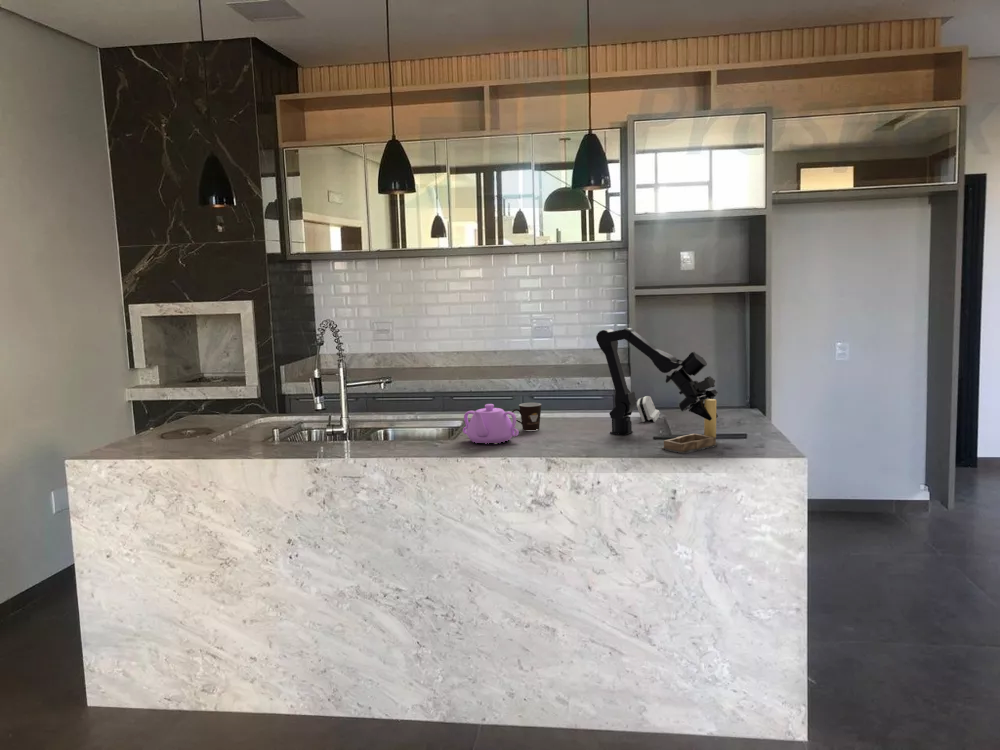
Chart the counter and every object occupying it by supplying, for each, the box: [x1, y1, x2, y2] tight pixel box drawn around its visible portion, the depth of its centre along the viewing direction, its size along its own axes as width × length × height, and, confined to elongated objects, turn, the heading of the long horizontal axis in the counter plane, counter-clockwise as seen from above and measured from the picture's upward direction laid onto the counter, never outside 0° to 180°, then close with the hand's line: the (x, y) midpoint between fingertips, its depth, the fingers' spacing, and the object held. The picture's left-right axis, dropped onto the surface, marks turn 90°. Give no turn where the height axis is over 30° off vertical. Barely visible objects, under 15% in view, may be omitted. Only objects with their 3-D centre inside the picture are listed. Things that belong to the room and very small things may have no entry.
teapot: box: [462, 403, 520, 445], centre depth 283 cm, size 22×22×14 cm
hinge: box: [636, 395, 661, 423], centre depth 318 cm, size 17×5×10 cm, turn 161°
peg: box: [703, 398, 717, 438], centre depth 270 cm, size 4×4×13 cm
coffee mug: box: [511, 402, 542, 430], centre depth 303 cm, size 12×9×10 cm
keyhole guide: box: [660, 433, 718, 455], centre depth 264 cm, size 16×10×3 cm, turn 124°
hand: (713, 418), depth 269 cm, fingers closed on peg, 4 cm apart
